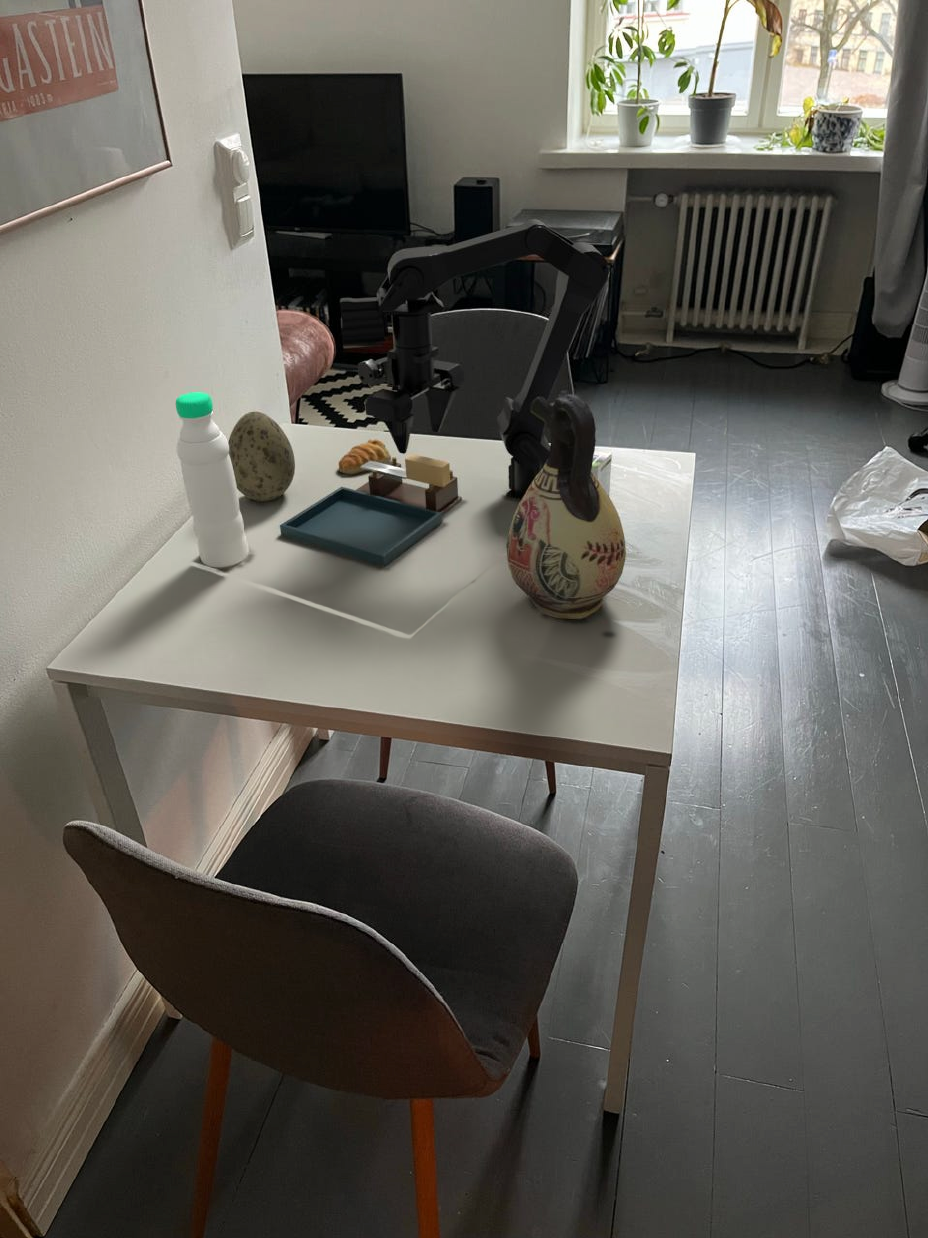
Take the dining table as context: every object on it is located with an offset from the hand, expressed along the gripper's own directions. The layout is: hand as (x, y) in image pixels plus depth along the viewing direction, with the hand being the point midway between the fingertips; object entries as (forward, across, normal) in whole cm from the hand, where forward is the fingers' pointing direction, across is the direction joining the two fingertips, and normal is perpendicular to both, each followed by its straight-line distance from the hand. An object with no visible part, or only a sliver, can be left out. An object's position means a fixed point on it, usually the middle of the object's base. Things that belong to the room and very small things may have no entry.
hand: (419, 442), depth 145 cm
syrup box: (+11, +1, +29) cm, 31 cm away
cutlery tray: (+11, +12, -3) cm, 17 cm away
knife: (+6, 0, -3) cm, 7 cm away
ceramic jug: (+11, +16, +34) cm, 39 cm away
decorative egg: (+11, +11, -24) cm, 28 cm away
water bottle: (+11, +29, -16) cm, 35 cm away
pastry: (+11, -7, -17) cm, 21 cm away
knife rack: (+11, 0, -3) cm, 11 cm away
